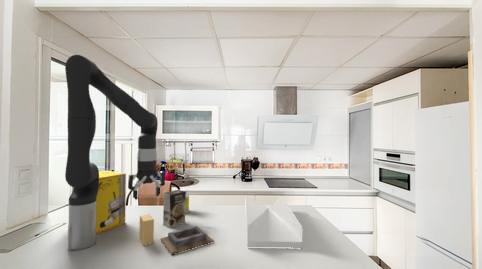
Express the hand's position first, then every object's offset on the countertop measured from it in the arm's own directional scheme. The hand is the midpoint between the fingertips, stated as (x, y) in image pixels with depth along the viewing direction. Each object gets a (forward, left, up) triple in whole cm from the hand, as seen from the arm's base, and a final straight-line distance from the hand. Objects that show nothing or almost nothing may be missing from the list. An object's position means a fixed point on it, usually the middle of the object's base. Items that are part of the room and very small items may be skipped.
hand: (147, 197), depth 96 cm
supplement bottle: (+26, +25, -19) cm, 41 cm away
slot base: (+14, -10, -19) cm, 25 cm away
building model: (+54, -17, -19) cm, 60 cm away
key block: (0, 0, -19) cm, 19 cm away
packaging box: (-15, +29, -19) cm, 38 cm away
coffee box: (+16, +11, -19) cm, 27 cm away
